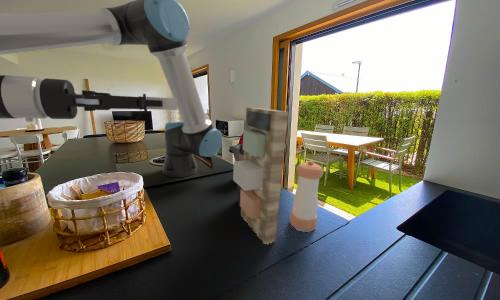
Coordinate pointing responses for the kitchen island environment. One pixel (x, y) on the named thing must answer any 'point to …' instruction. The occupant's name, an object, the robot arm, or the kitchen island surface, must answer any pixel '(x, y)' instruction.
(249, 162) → the key middle
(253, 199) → the block
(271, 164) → the keypad panel
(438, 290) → the kitchen island surface
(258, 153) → the key top
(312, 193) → the salt shaker
